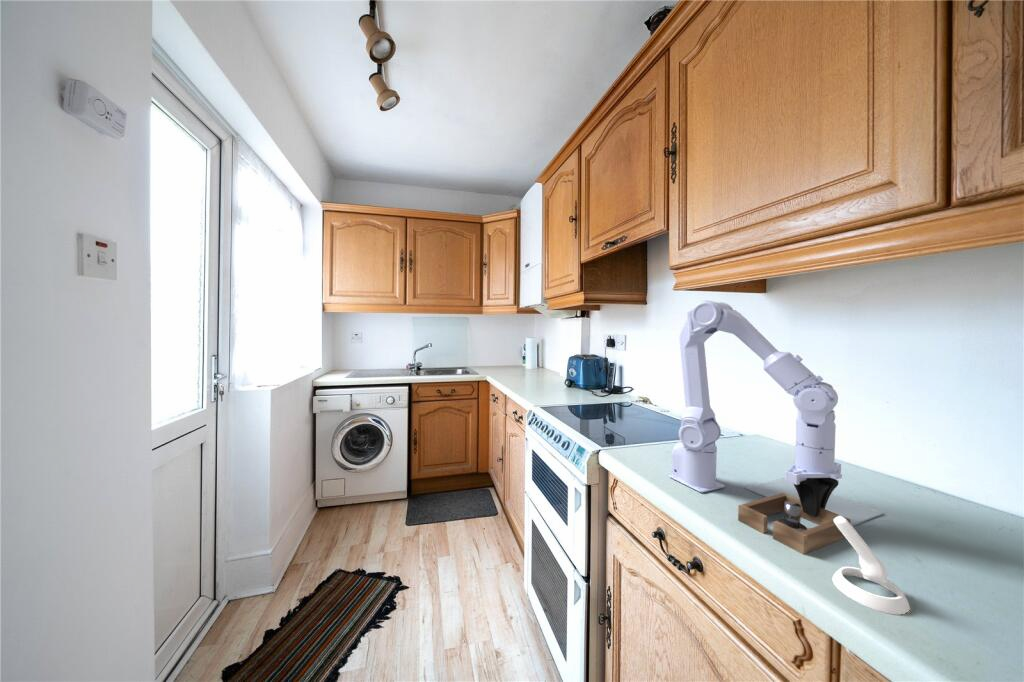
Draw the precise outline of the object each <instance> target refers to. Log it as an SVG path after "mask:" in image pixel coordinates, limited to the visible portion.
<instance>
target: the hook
mask: <svg viewBox="0 0 1024 682" xmlns="http://www.w3.org/2000/svg"><path fill="white" fill-rule="evenodd" d="M833 521H834V523H835V524H836V526H837V527H838V529H839V530H840V531H841V532H842V534H843V535H844V536H845V539H846V540H847V541H848V542H849V544H850V545H851V546H852V548H853V549H854V550H855V551H856V553H857V554H858V563H859V566H860V568H859V567H854V566H842V567H840V568H839V569H837V570H836V571H835V572H834V574H833V575H832V578H831V580H832V583H833V585H834V586H835V587H836V588H837V590H839V591H840V592H841V593H843V595H845V596H847V597H848V598H849V599H851V600H853V601H855V602H857V603H858V604H860V605H862V606H865V607H868V608H869V609H872V610H875V611H877V612H881V613H885V614H890V615H894V616H895V615H897V616H899V615H900V616H902V615H901V614H903V615H906V614H905V613H906V612H908V611H909V610H910V611H911V606H910V603H909V601H908V599H907V596H906V595H905V593H904V592H903V591H902V590H901V587H899V586H897V585H896V584H895V583H894V582H892V581H890V580H889V579H888V571H887V569H886V567H885V565H884V564H883V563H882V561H881V560H880V559H879V557H878V556H877V555H876V554H875V552H873V550H872V549H871V548H870V546H869V545H868V544H867V543H866V541H865V540H864V539H863V538H862V537H861V536H860V535H861V534H859V533H858V532H857V530H856V529H855V528H854V526H852V525H851V524H850V523H849V522H848V521H847V520H846V519H845V518H844V517H842V516H837V517H836V518H834V519H833ZM845 576H851V577H856V578H861V579H863V580H867V581H870V582H873V583H874V584H876V585H879V586H881V587H883V588H885V589H887V590H888V591H889V592H892V593H893V594H895V595H896V596H895V597H888V596H882V595H879V594H874V593H872V592H869V591H867V590H864V589H862V588H860V587H858V586H857V585H855V584H853V583H851V582H850V581H849V580H848V579H846V577H845ZM910 611H909V612H910ZM909 612H908V613H909Z"/></svg>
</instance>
